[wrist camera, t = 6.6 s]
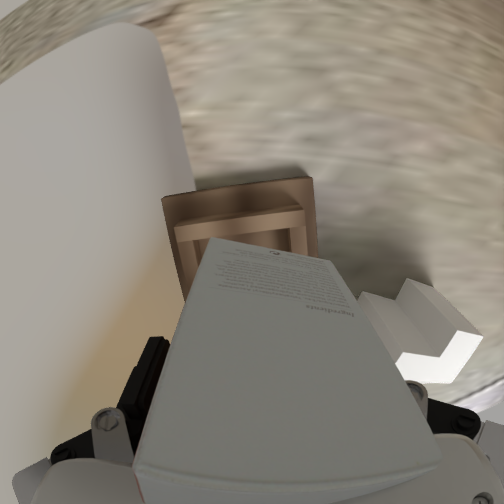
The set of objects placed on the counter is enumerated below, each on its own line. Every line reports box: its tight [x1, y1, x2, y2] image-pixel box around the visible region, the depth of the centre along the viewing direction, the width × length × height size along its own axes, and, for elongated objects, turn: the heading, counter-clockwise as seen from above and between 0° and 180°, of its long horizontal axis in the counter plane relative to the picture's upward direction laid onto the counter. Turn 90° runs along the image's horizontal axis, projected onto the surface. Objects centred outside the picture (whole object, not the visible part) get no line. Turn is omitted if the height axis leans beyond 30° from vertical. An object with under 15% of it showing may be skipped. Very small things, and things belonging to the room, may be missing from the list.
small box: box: [132, 237, 443, 504], centre depth 9 cm, size 8×6×10 cm
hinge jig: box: [161, 176, 318, 302], centre depth 25 cm, size 15×17×14 cm
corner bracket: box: [357, 278, 484, 384], centre depth 29 cm, size 11×11×12 cm
